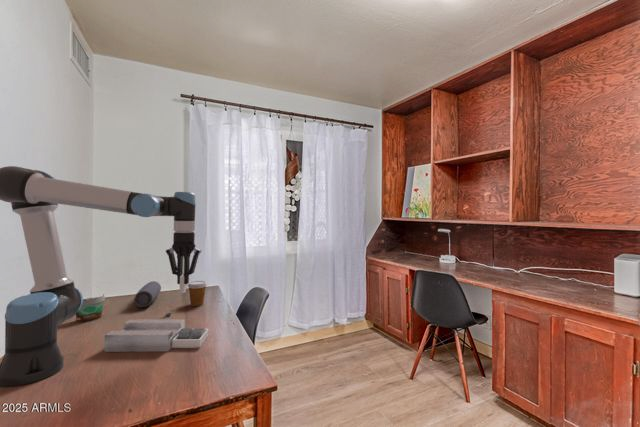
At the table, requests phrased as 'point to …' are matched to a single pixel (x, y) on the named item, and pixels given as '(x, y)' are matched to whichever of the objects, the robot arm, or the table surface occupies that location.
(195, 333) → the dark grey cube
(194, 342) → the tray
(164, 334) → the slot block
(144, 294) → the bluetooth speaker
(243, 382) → the table surface
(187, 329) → the dark gray cube
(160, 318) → the tomahawk
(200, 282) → the disposable coffee cup
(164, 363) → the table surface
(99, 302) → the food container
